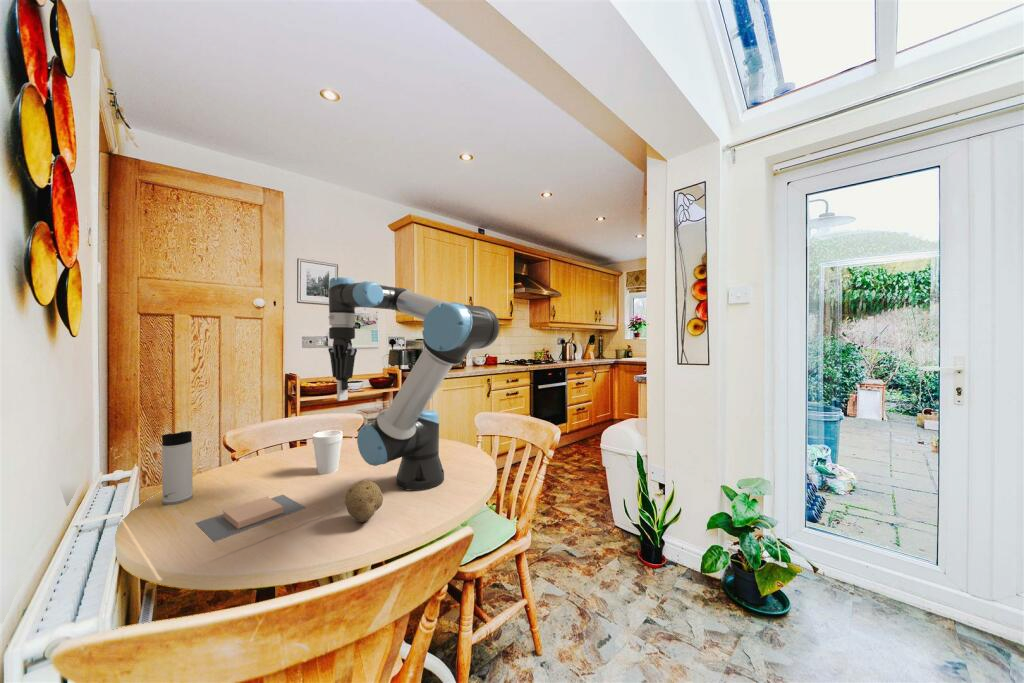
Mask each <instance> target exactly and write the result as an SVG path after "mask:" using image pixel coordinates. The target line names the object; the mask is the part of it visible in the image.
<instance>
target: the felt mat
mask: <svg viewBox="0 0 1024 683" xmlns="http://www.w3.org/2000/svg"><path fill="white" fill-rule="evenodd" d="M270 499H272V500H274V501H275V502H277V503H278V504H280V505H282V506H283V513H281V514H278V515H275V516H272V517H270V518H267V519H264V520H261V521H259V522H256V523H253V524H250V525H247V526H245V527H242V528H239V529H237V528H236V527H235V526H234V525H232V524H231V523H230V522H229V521H228V520H226V519H225V518H224V517H223V513H221V514H218V515H216V516H212V517H209V518H207V519H203V520H200V521H198V522H194V523H195V525H196V526H197V527H198V528H199V529H200V530H201V531H202V532H203V533H205V535H206V536H208V538H209V539H210V540H211V541H213V542H214V543H215V542H218V541H220V540H223V539H225V538H226V539H227V538H228V537H231V536H234V535H236V534H240V533H243V532H245V531H248V530H250V529H253V528H255V527H258V526H261V525H263V524H267V523H270V522H272V521H274V520H277V519H280V518H283V517H285V516H289V515H291V514H293V513H296V512H299V511H301V510H304V509H306V506H304V505H302V504H300V503H299V502H297V501H295V500H293V499H292V498H290V497H289V496H286V495H285V494H280V495H278V496H274V497H271V498H270Z"/></svg>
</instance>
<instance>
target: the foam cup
mask: <svg viewBox="0 0 1024 683" xmlns="http://www.w3.org/2000/svg"><path fill="white" fill-rule="evenodd" d="M343 437H344V435H343V431H342V430H339V429H338V430H336V429H330V430H329V429H327V430H322V431H318V432H314V433H313V434H312V444H313V449H314V456H315V463H316V470H317V473H318V474H319V475H329V474H333V473H336V472H337V471H339V464H340V457H341V450H342V441H343V440H344V438H343Z"/></svg>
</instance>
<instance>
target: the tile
mask: <svg viewBox="0 0 1024 683" xmlns="http://www.w3.org/2000/svg"><path fill="white" fill-rule="evenodd" d="M281 513H283V506H282V505H280V504H278V503H277V502H275V501H274V500H272V499H271V498H270V497H269V496H265V497H262V498H258V499H255V500H252V501H248V502H246V503H243V504H240V505H236V506H234V507H230V508H227V509H223V510H222V514H223V517H224V518H225V519H226V520H228V521H229V522H230V523H231V524H232V525H234V526H235V527H236V528H237V529H239V528H242V527H245V526H247V525H250V524H253V523H256V522H259V521H261V520H264V519H267V518H270V517H272V516H275V515H278V514H281Z"/></svg>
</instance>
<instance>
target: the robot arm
mask: <svg viewBox="0 0 1024 683" xmlns="http://www.w3.org/2000/svg"><path fill="white" fill-rule="evenodd" d="M327 291H328V314H329V315H328V320H329V321H328V322H329V324H328V325H329V326H331V327H329V328H328V329H329V330H328V335H329V336H328V338H329V339H331V340H332V341H333V342H332V347H329V348H328V353H329V358H330V365H331V366H330V367H331V373H332V377H333V378H335V380H336V391H337V392H336V400H337V401H339V402H341V401H348V399H349V398H348V396H349V391H348V390H349V381H348V380H350V379H352V378H353V376H354V366H355V359H356V355H357V352H358V349H357V348H354V347H353V343H352V340H354V339H355V338H356V328H355V325H356V312H355V311H356V308H369V309H381V310H382V309H383V310H392V311H395V312H399V313H402V314H404V315H408V316H411V317H413V318H417V319H418V320H419V319H420V320H423V322H422V328H423V330H421V331H422V332H421V333H422V338H423V339H422V345H423V348H424V349H423V350H422V352H421V353H420V354H419V357H418V359H417V360H416V362H415V363H414V365H413V367H412V368H411V370H410V371H409V373H408V375H407V376H406V379H405V380H404V382H403V383H402V385H401V386H400V388H399V390H398V392H397V393H396V395H395V397H394V398H393V400H392V401H391V403H390V405H389V406H388V408H384V409H382V410H380V411H379V413H378V414H377V416H376V418H375V419H374V420H373V422H372V423H370V424H368V423H367V424H365V425H363V426H362V427H360V429H359V430H358V432H357V435H356V436H357V437H356V442H357V448H358V449H357V450H358V452H359V454H360V456H361V457H362V459H363V460H364V461H365V463H367V464H368V465H370V466H374V467H377V466H380V465H385V464H387V463H390V462H392V461H395V460H397V459H399V458H401V459H400V460H401V461H400V462H399V467H398V470H397V474H396V476H395V483H396V486H397V487H398V488H400V489H402V490H407V491H421V490H428V489H432V488H435V487H438V486H439V485H441V484H442V483H443V482H444V481H445V470H444V468H443V465H442V462H441V459H440V458H441V457H440V455H439V453H440V449H439V448H440V446H439V444H440V422H439V418H440V417H439V414H438V412H437V411H435V410H432V409H431V410H430V409H426V407H427V406H428V404H429V403H430V401H431V400H432V398H433V396H434V395H435V393H436V392H437V390H438V389H439V387H440V386H441V384H443V381H444V379H445V378H446V377H447V375H448V373H449V372H450V370H451V369H452V367H453V366H459V365H461V364H462V362H463V361H464V359H466V357H467V355H468V354H469V352H470V351H471V350H478V349H479V350H480V349H484V348H488V347H489V346H491V345H492V344H493V343H494V342H495V341H496V340H497V338H498V337H499V333H500V321H499V318H498V317H497V315H496V314H495V313H494V312H493V311H492V310H491V309H489V308H488V307H484V306H481V305H472V304H471V305H470V304H463V303H459V302H454V301H453V302H448V301H445V300H440V299H438V298H433V297H431V296H427V295H423V294H420V293H418V292H417V293H416V292H414V291H411V290H409V289H408V288H407V289H406V288H403V287H395V286H387V285H382V284H378V283H377V282H375V281H361V282H355V280H354V279H352V278H349V277H332V278H330V279H329V282H328V290H327Z"/></svg>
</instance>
